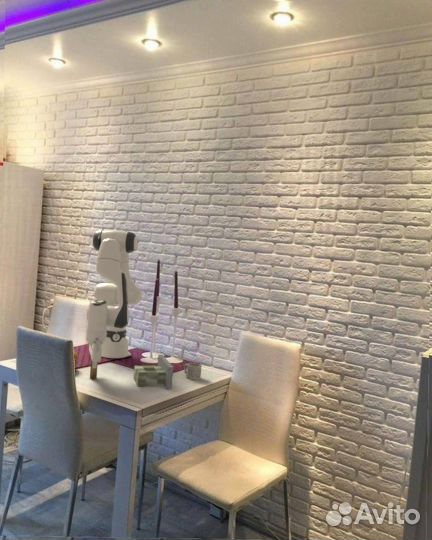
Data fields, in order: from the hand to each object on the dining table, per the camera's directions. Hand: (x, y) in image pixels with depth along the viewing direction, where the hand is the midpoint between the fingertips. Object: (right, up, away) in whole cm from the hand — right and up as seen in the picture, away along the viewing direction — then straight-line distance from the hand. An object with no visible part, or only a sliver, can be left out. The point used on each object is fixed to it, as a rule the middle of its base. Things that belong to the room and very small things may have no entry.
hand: (94, 366), depth 218 cm
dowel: (0, -5, 0) cm, 5 cm away
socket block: (+24, -7, +1) cm, 26 cm away
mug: (+43, -8, +15) cm, 46 cm away
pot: (-16, -4, +9) cm, 19 cm away
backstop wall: (+31, -8, +4) cm, 32 cm away
